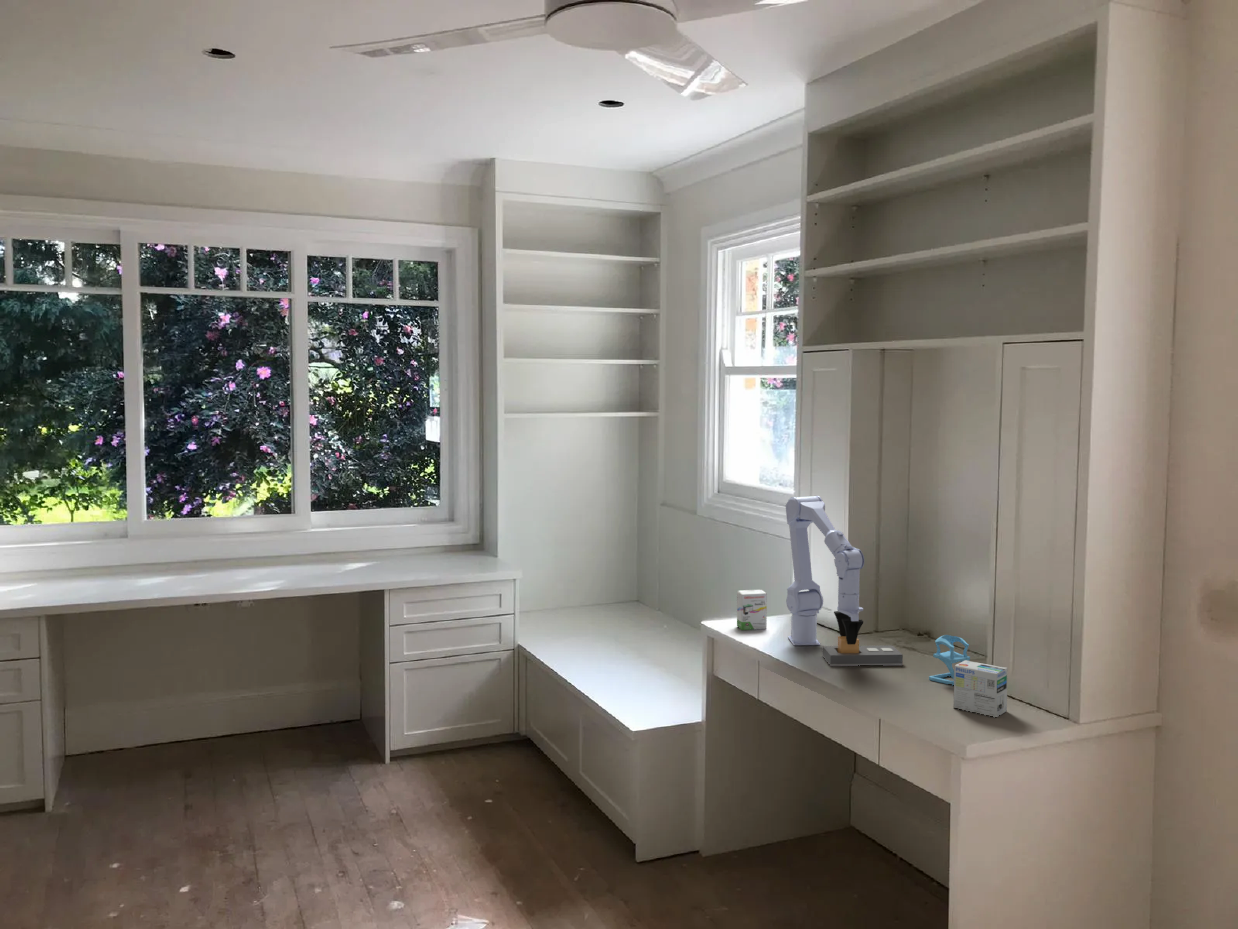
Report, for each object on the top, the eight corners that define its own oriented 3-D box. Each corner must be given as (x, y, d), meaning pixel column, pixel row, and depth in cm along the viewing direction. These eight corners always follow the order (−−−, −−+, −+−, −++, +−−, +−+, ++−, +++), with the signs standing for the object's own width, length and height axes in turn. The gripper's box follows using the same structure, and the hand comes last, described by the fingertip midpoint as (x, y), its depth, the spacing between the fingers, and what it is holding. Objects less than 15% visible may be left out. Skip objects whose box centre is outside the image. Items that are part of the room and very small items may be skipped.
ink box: (741, 630, 312) (741, 593, 310) (736, 626, 316) (736, 590, 315) (767, 629, 313) (767, 592, 312) (761, 625, 318) (762, 589, 317)
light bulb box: (1007, 711, 235) (1008, 667, 234) (996, 719, 230) (998, 673, 229) (963, 702, 242) (964, 658, 241) (952, 709, 237) (953, 664, 236)
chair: (951, 688, 253) (953, 642, 251) (928, 679, 260) (929, 635, 259) (974, 684, 256) (975, 639, 255) (949, 675, 263) (951, 631, 262)
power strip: (822, 656, 282) (822, 645, 282) (892, 655, 282) (892, 644, 282) (830, 666, 273) (830, 654, 272) (902, 665, 273) (902, 654, 273)
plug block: (837, 657, 279) (837, 636, 279) (855, 657, 279) (855, 636, 279) (841, 661, 275) (841, 640, 275) (858, 661, 275) (859, 640, 275)
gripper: (870, 598, 269) (869, 647, 270) (856, 587, 283) (855, 633, 284) (844, 598, 268) (843, 647, 270) (831, 587, 283) (830, 633, 284)
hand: (847, 640), depth 277 cm, fingers open, 7 cm apart
